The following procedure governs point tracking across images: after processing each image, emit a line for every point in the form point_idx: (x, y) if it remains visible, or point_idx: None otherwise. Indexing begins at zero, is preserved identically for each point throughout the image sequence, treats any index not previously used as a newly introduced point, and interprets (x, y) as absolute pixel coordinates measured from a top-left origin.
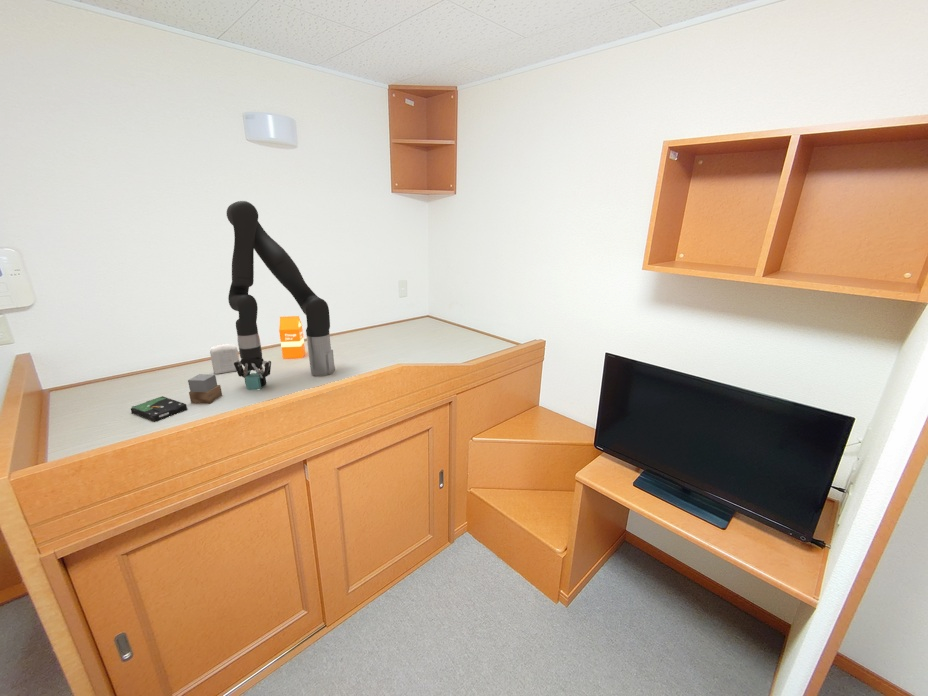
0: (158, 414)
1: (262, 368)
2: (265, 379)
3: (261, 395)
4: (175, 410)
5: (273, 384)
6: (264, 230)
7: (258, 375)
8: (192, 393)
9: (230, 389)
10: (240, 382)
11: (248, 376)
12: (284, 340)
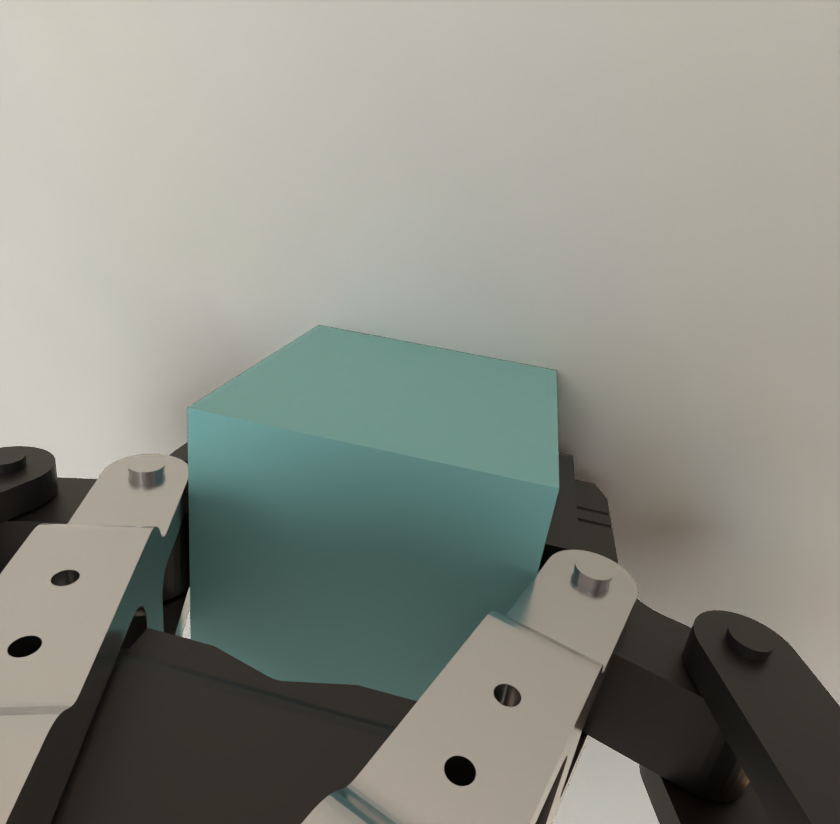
0: None
1: (571, 745)
2: (610, 559)
3: (608, 776)
4: None
5: (711, 378)
6: None
7: (452, 628)
8: None
9: (69, 475)
10: (30, 175)
11: (234, 637)
12: None
